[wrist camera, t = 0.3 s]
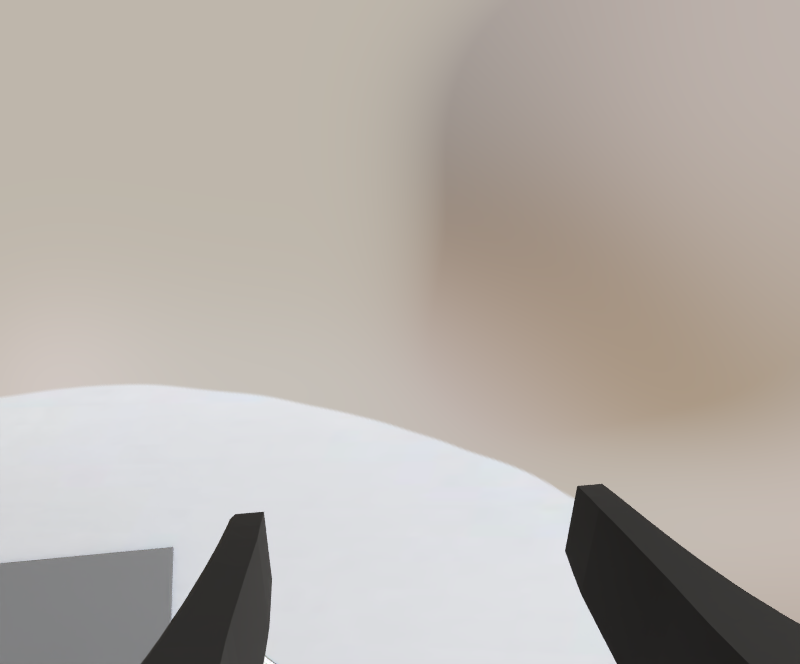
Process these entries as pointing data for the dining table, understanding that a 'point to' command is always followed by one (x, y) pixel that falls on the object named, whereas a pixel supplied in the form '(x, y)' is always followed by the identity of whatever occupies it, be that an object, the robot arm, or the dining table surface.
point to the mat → (85, 608)
